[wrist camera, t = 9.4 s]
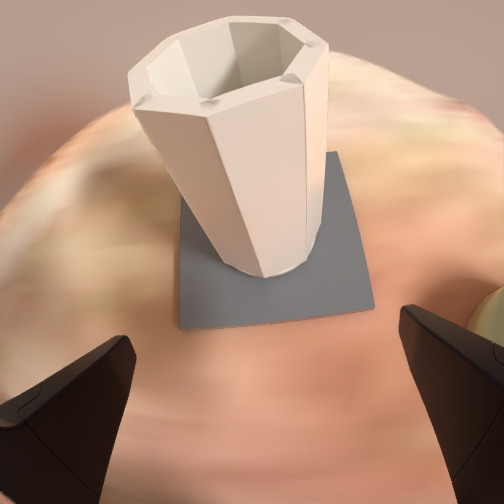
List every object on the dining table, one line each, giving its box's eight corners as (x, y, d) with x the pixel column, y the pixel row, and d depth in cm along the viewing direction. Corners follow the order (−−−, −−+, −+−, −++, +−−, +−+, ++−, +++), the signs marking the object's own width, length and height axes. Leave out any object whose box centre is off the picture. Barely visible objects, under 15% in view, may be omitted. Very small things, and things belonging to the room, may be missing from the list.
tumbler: (237, 294, 19) (137, 148, 7) (207, 212, 21) (125, 55, 10) (333, 254, 19) (363, 71, 7) (291, 178, 22) (271, 5, 10)
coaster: (372, 309, 18) (375, 307, 17) (183, 331, 19) (179, 329, 18) (336, 156, 23) (336, 151, 22) (185, 178, 24) (183, 173, 23)
